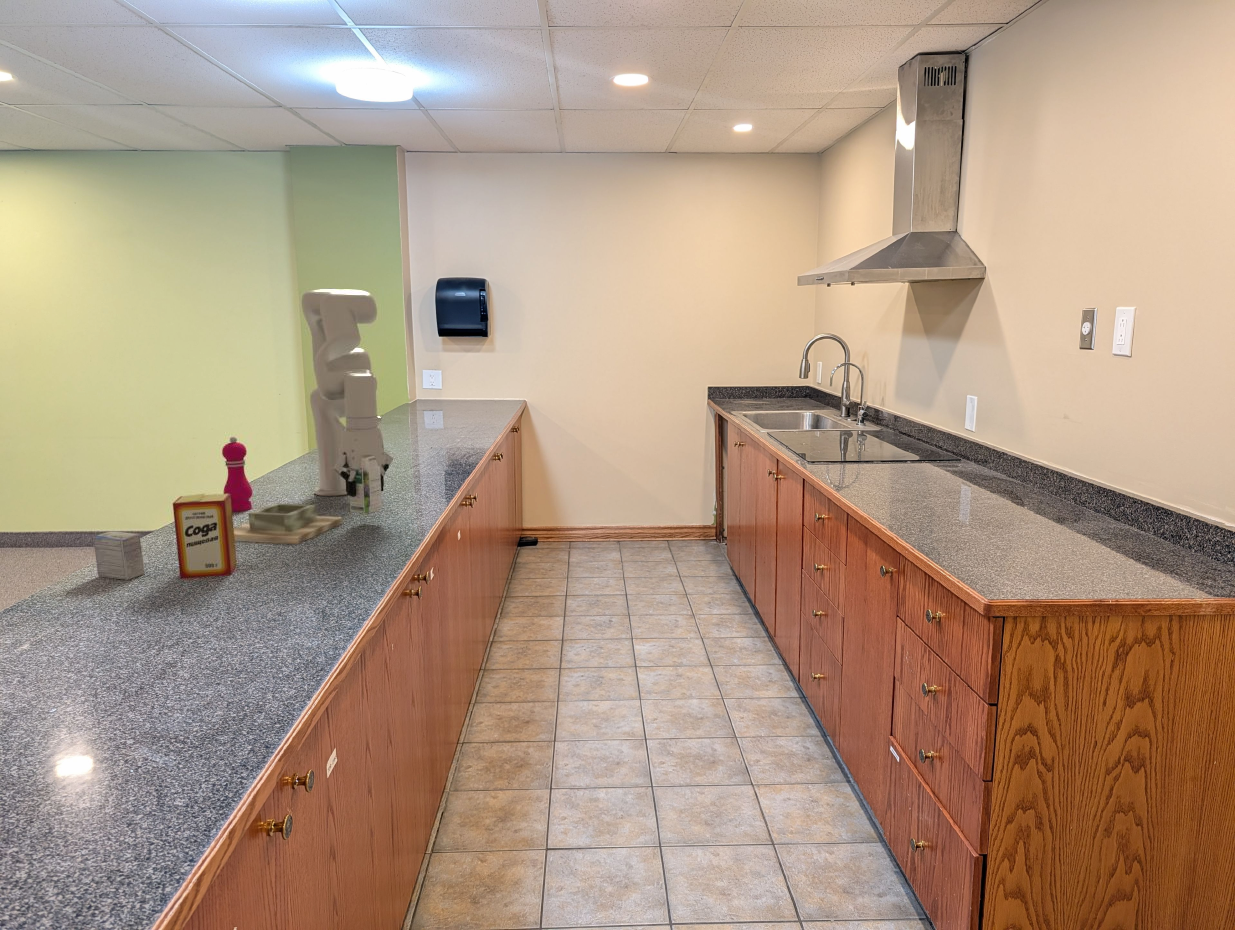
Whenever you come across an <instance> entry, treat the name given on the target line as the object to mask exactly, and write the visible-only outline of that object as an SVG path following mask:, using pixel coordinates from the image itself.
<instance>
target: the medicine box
mask: <svg viewBox="0 0 1235 930" xmlns="http://www.w3.org/2000/svg"><path fill="white" fill-rule="evenodd" d="M92 539H93V548H94V554H95V560H96V561H95V562H96V569H97V571H96V572H97V576H98V577H99V578H106V579H107V578H109V579H117V580H124V581H128V580H133V579H134V578H137V577H140V576H143V575H145V564H144V558H143V550H142V541H141V535H140V533H134V532H133V533H131V532H124V531H123V532H122V531H114V530H113V531H112V530H111V531H108V532H104V533H101V534H97V535H94V536H93V537H92Z"/></svg>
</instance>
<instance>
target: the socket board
mask: <svg viewBox="0 0 1235 930" xmlns="http://www.w3.org/2000/svg"><path fill="white" fill-rule="evenodd" d="M316 506H317V505H316V504H299V503H298V504H297V503H282V502H281V503H278V502H276V503H272V504H270V505H268V506H264V507H262V508H260V509H257V510H254V511H251V512H248V522H247V523H245V524H242V525H239V526H236V527H233V528H234V540H235V541H237V542H238V541H240V542H257V543H272V544H288V545H289V544H290V545H299V544H301V543H303V542H305V541H307V540H310V539H312V538H315V537H316V536H318V535H320V534H322V533H325V532H327V531H328V530H329V531H330V530H331V529H333V528H335V526H336V527H337V526H340V525H342V524H344V521H343V519H344V517H342V516H326V515H325V516H324V515H323V516H322V515H320V516H319V515H317V507H316Z"/></svg>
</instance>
